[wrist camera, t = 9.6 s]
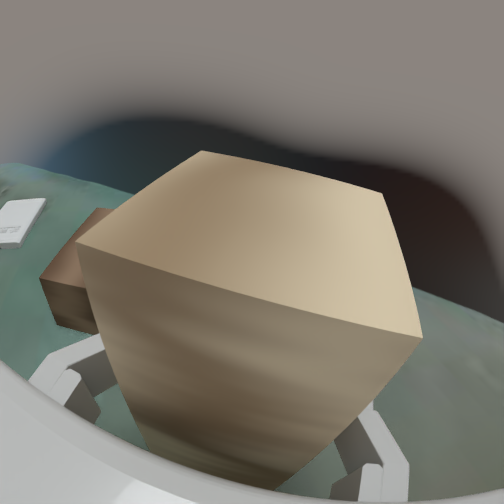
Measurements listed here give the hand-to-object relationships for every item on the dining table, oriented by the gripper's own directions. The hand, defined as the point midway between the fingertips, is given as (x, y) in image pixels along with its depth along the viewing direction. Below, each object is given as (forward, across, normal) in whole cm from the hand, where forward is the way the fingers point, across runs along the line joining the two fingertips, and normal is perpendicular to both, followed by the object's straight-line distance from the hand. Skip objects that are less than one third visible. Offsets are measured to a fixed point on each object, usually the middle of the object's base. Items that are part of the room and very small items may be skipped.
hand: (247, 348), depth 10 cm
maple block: (-1, 0, +7) cm, 7 cm away
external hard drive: (+15, +38, +14) cm, 43 cm away
